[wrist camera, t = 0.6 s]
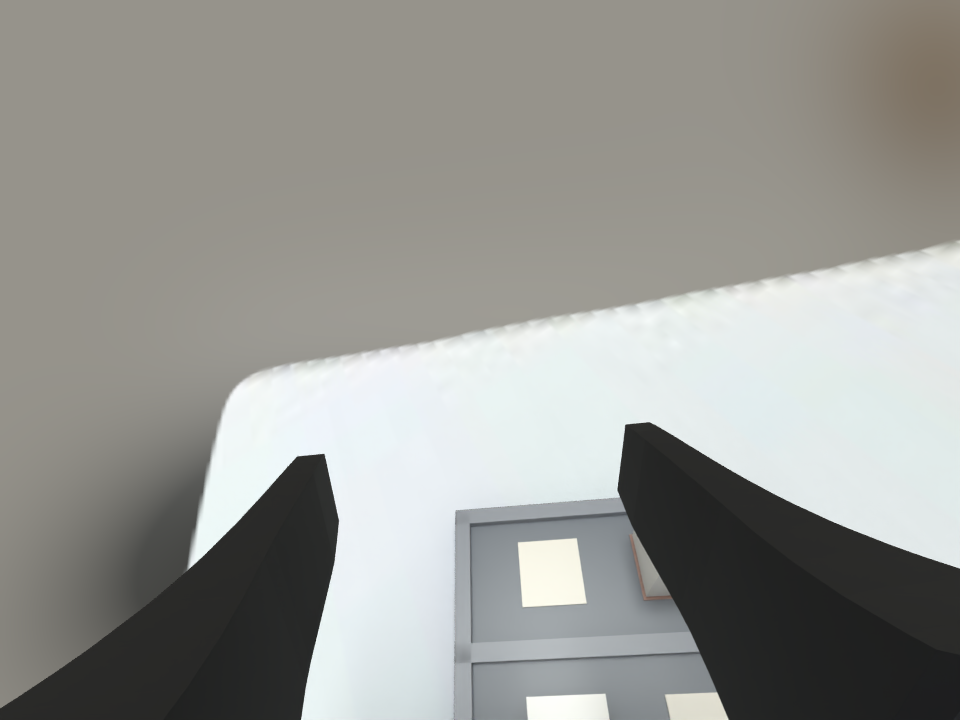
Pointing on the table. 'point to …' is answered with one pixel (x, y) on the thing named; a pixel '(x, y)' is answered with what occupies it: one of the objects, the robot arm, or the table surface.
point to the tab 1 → (568, 707)
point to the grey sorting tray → (567, 618)
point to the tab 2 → (648, 572)
